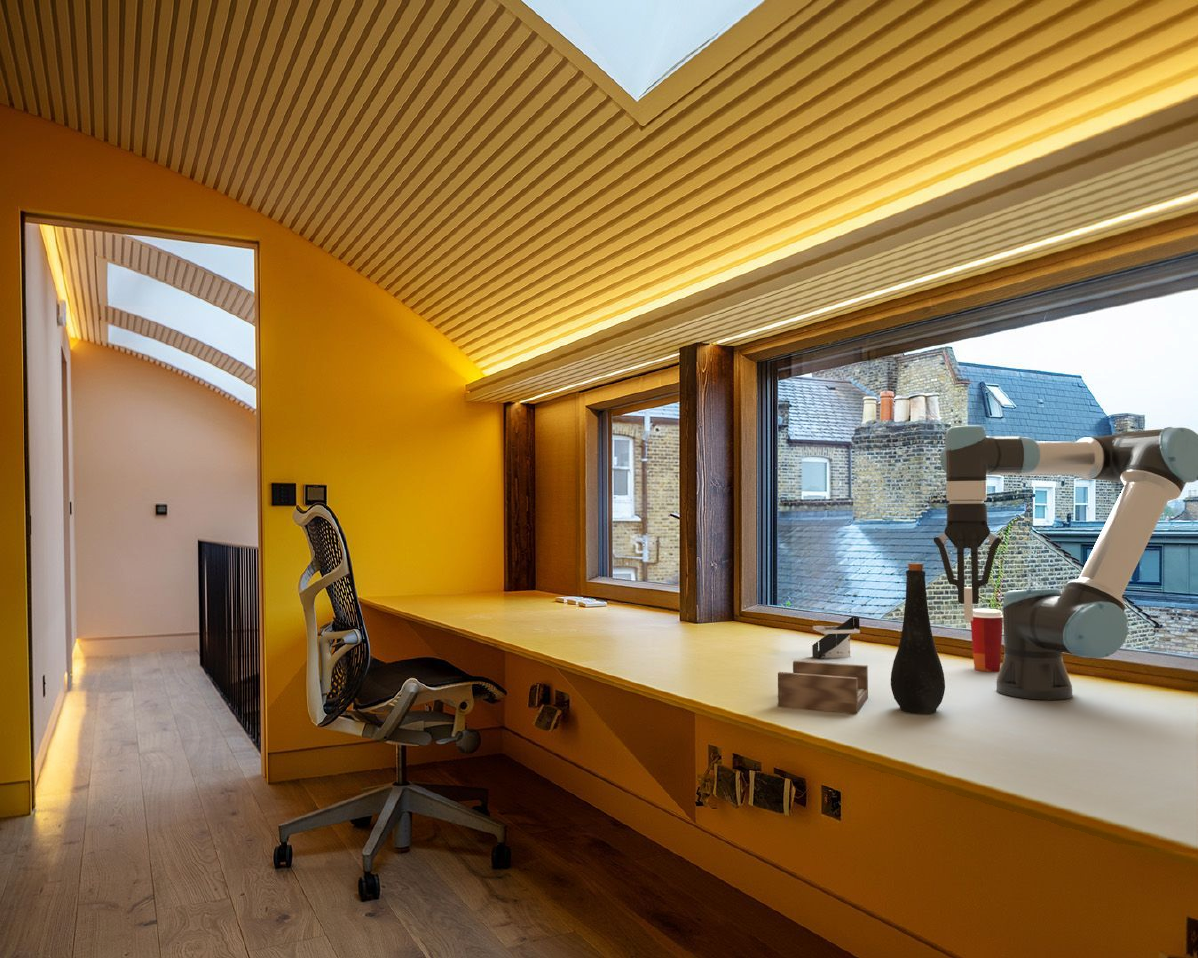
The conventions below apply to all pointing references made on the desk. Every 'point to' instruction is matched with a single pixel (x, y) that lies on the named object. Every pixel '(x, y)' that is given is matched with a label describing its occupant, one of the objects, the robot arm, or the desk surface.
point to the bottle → (917, 653)
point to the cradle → (824, 687)
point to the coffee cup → (987, 639)
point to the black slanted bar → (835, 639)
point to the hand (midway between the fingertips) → (968, 619)
